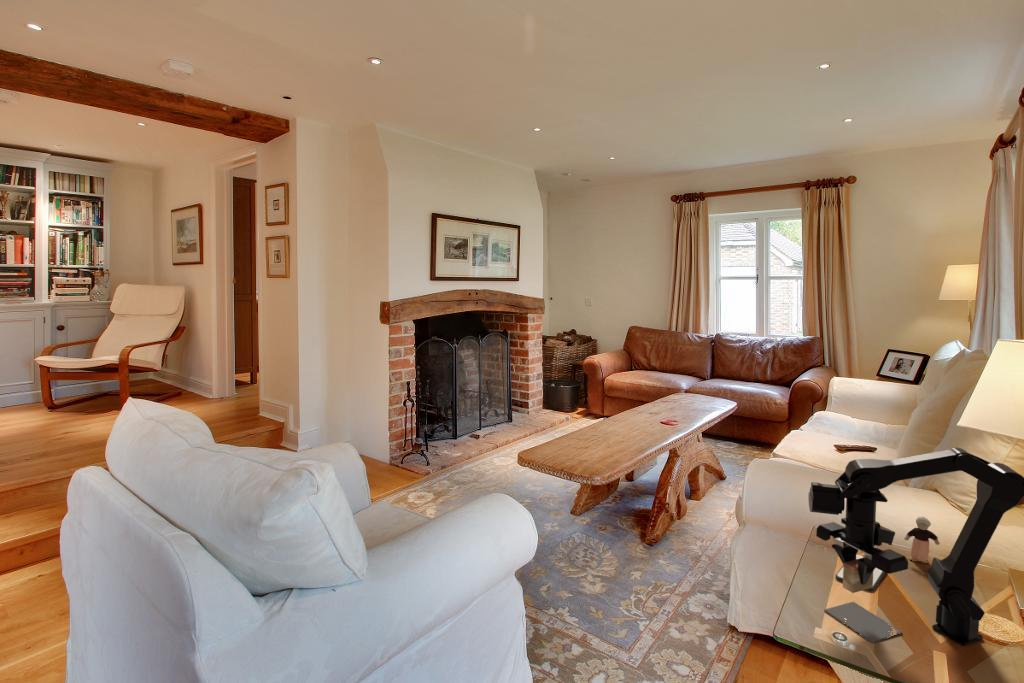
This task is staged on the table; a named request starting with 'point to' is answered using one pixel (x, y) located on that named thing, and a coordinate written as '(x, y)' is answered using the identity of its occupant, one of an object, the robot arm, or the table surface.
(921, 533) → the grandmother figurine
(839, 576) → the phone case
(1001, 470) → the robot arm
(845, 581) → the birch block
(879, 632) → the felt mat
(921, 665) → the table surface
